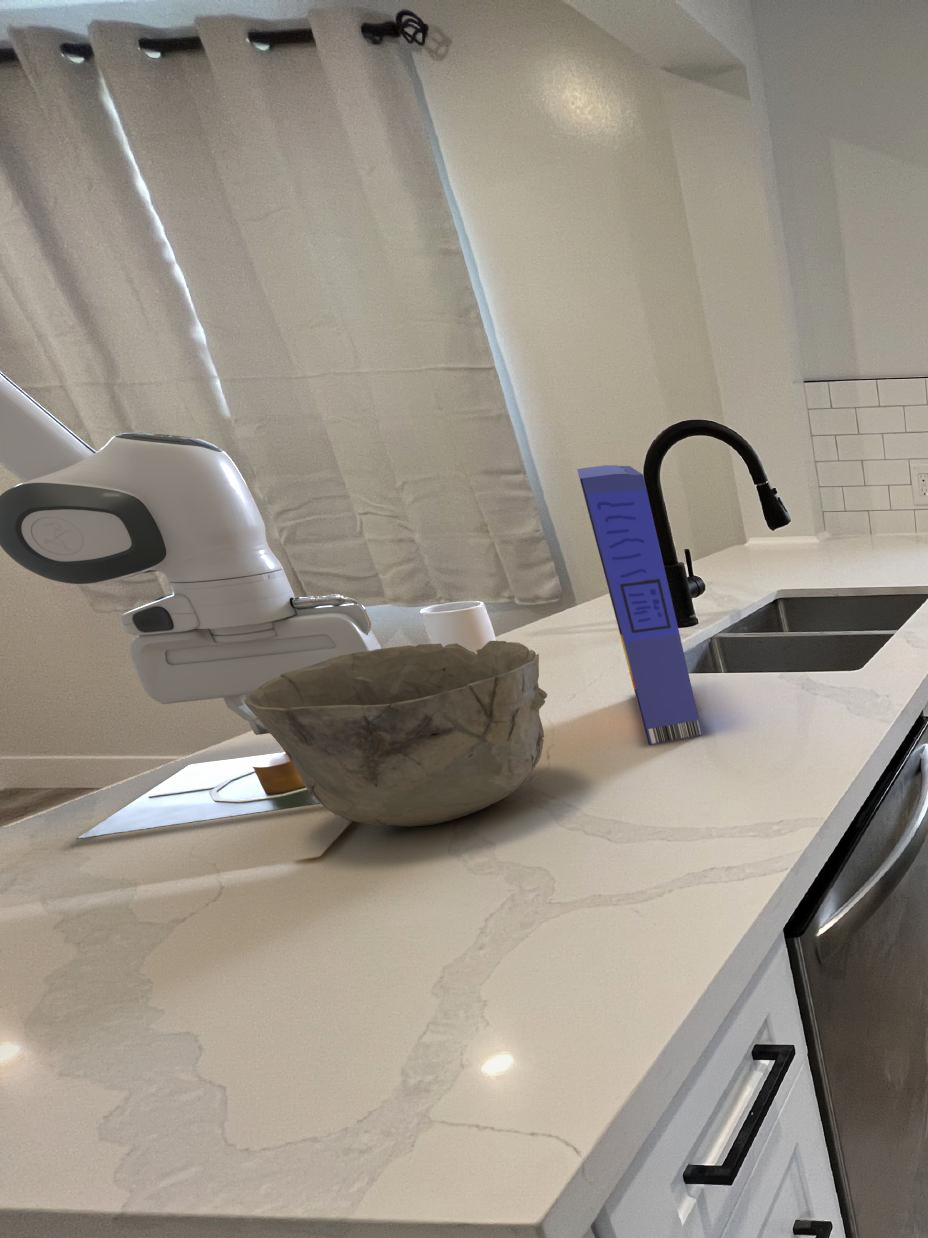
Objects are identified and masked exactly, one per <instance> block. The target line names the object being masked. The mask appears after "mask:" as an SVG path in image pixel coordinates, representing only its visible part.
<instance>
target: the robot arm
mask: <svg viewBox="0 0 928 1238" xmlns="http://www.w3.org/2000/svg"><path fill="white" fill-rule="evenodd" d="M0 465H1V466H3V468H5V469H6V470H7V471H9V472H10V473H11V474H12V475H14V476H15V477H17V478H18V479H19V480H20V481H21V483H19V484H17V485H15V486H13V487H11V488H9V489H7V490H5V491H4V492H3V493H1V494H0V547H1V549H2V550H3V552H5V553H6V554H7V555H8V557H10V558H11V560H13V561H14V562H15V563H17V564H18V565H20V566H21V567H23V568H24V569H26V570H28V571H29V572H32V573H33V574H36V575H38V576H40V577H43V578H45V579H47V580H51V581H55V582H59V583H63V584H70V585H71V584H72V585H103V584H104V585H105V584H108V583H115V582H116V581H119V580H124V579H129V578H133V577H135V576H138V575H140V574H148V573H149V574H150V573H155V572H160V573H162V574H163V575H164V576H165V578H166V581H168V585H169V586H170V588H171V590H172V593H169V594H166V595H164V596H160V597H157V598H156V599H154V601H152V602H150V603H147V604H145V605H142V606H140V607H139V606H138V607H136V608H134V609H132V610H130V611H127V612H125V613H123V614H121V615H120V616H119V622H120V624H121V626H122V627H121V628H123V630H124V631H125V632H126V633H127V634H128V635H132V636H135V637H134V638H132V640H131V641H130V643H129V655H130V658H131V662H132V665H133V667H134V670H135V672H136V675H137V677H138V680H139V682H140V684H141V687H142V688H143V690H144V692H145V693H146V695H147V696H148V697H149V698H151V699H152V700H154V701H156V702H158V703H160V704H162V705H171V704H179V703H180V704H181V703H187V702H188V703H189V702H198V701H205V700H206V701H207V700H213V699H215V700H216V699H222V698H223V701H224V703H225V704H226V707H227V708H228V709H229V710H231V712H233V713H235V714H236V715H238V716H239V717H241V718H242V719H243V720H245V721H248V724H249V727H250V728H251V729H252V732H253V734H254V735H256V736H260V735H261V736H262V735H267V734H269V733H267V729H266V727H265V726H264V725H263V724H262V723H261V721H260V720H259V719H258V718H257V717H256V716H255V714H254V713H253V712H252V711H251V710H250V709H249V708H248V707H247V706H246V704H245V702H244V700H245V698H246V695H247V694H249V693H250V692H252V691H254V690H256V689H258V688H259V687H260V686H261V685H263V684H265V683H266V682H268V681H270V680H273V679H275V678H277V677H280V675H281V674H284V673H286V672H290V671H294V670H297V669H301V668H304V667H308V666H311V665H314V664H317V663H320V662H323V661H327V660H328V659H330V658H334V657H337V656H342V655H347V654H352V653H358V652H364V651H372V650H376V649H382V647H381V645H380V643H379V641H378V639H377V638H376V636H375V634H374V632H373V631H372V622H371V619H370V617H369V614H368V611H367V608H366V607H365V606H364V605H363V604H362V603H361V602H359V601H358V600H356V599H354V598H350V597H346V596H345V595H344V594H328V595H326V596H325V595H324V596H304V597H296V595H295V593H294V591H293V589H292V586H291V584H290V582H289V579H288V576H287V575H286V571H285V569H284V568H283V564H282V563H281V562H280V560H279V559H278V557H276V555H275V554H274V553H273V552H272V549H271V547H270V546H269V543H268V540H267V535H266V534H267V533H266V524H265V522H264V519H263V516H262V514H261V513H260V509H259V508H258V505H257V503H256V501H255V499H254V496H253V495H252V493H251V491H250V488H249V487H248V485H247V483H246V481H245V479H244V478H243V476H242V474H241V472H240V471H239V469H238V467H237V465H236V464H235V462H234V460H232V459H231V457H230V455H228V454H227V453H226V452H225V451H224V450H223V449H221V448H219V447H218V446H217V445H215V444H213V443H211V442H209V441H206V440H204V439H200V438H197V437H195V438H194V437H190V436H189V437H188V436H183V435H182V436H181V435H173V434H172V435H171V434H163V433H146V432H123V433H119V434H115V435H114V436H112V437H111V438H110V440H109V441H108V442H107V443H106V444H105V445H104V446H103V447H101V448H100V449H99V450H98V451H97V450H96V449H94V448H93V447H92V446H90V445H89V444H88V443H86V442H85V441H84V440H83V439H82V438H80V437H79V436H78V435H76V433H75V432H73V431H72V430H71V429H70V428H69V427H67V426H66V425H65V424H64V423H62V422H61V421H60V420H59V419H58V418H56V416H54V415H53V414H52V413H51V412H49V410H47V409H46V408H45V407H43V406H42V405H41V404H40V403H39V402H38V401H36V400H35V399H34V398H33V397H32V396H30V395H29V394H28V393H27V392H26V391H25V390H23V389H22V388H21V387H20V386H18V385H17V384H16V382H14V381H13V380H11V379H10V377H8V376H7V375H6V374H4V372H2V371H1V370H0Z"/></svg>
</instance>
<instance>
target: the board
mask: <svg viewBox="0 0 928 1238" xmlns="http://www.w3.org/2000/svg"><path fill="white" fill-rule="evenodd" d="M280 754H286V753H285V751H284V752H277V753H267V754H260V755H253V756H252V755H251V756H245V757H237V758H230V759H221V760H214V761H206V762H199V763H192V764H188V765H187V766H185V767H184V768H182V769H181V770H179V771H178V772H176V773H175V774H173V775H171V776H170V777H168V778H167V779H165V780H164V781H162V782H161V783H159V784H157V785H155V786H154V787H153V788H152V789H150V790H149V791H147V792H145V793H144V794H142V795H141V796H140V797H137V798H136V799H135V800H133V801H132V802H130V803H129V804H126V805H125V806H124V807H122V808H121V809H119V810H118V811H116V812H115V813H113V814H112V815H110V816H109V817H107V818H106V819H104V820H103V821H101V822H100V823H98V824H96V825H95V826H93V827H92V828H90V829H88V830H87V831H85V832H84V833H83V834H81V835H80V836H78V837H76V840H82V839H89V838H96V837H101V836H102V837H103V836H109V835H115V834H122V833H128V832H129V833H130V832H136V831H144V830H149V829H156V828H164V827H171V826H177V825H184V824H191V823H198V822H204V821H211V820H218V819H226V818H233V817H239V816H246V815H247V816H248V815H253V814H260V813H267V812H274V811H280V810H288V809H294V808H300V807H307V806H314V805H321V804H320V803H319V802H318V801H317V800H316V799H315V798H314V797H313V796H312V794H310V793H309V791H308V790H307V788H306V787H302V788H299V789H296V790H293V791H288V792H283V793H274V794H270V793H265V792H264V790H263V788H262V785H261V783H260V781H259V779H258V777H257V775H256V773H255V771H254V769H253V766H252V765H253V764H254V763H255V762H257V761H259V760H261V759H264V758H267V757H271V756H275V755H280Z"/></svg>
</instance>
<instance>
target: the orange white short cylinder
mask: <svg viewBox="0 0 928 1238" xmlns="http://www.w3.org/2000/svg"><path fill="white" fill-rule="evenodd" d="M252 766H253V769H254V771H255V773H256V775H257V777H258V779H259V781H260V783H261V785H262V788H263V790H264V792H265V793H270V794H274V793H283V792H288V791H293V790H296V789H299V788H302V787H305V785H304V784H303V782H302V779H301V777H300V775H299V774H298V772H297V771H296V769H295V767H294V766H293V764H292V763H291V761H290V758H289V757H288V755H287V754H280V755H275V756H271V757H267V758H264V759H261V760H259V761H257V762H255V763H254V764H253V765H252Z"/></svg>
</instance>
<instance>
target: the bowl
mask: <svg viewBox="0 0 928 1238" xmlns="http://www.w3.org/2000/svg"><path fill="white" fill-rule="evenodd" d="M539 663H540V654H539V653H537V654H536V652H535V650H533V649H529V648H528V647H527V646H526V645H524V644H523V643H520V642H515V641H507V640H496V641H489V642H488V643H487V644H486V645H485V646H484V647H483V648H482V649H479V650H477V654H475V653H474V652H471V651H469V650H467V649H466V648H464V647H462V646H461V645H459V644H457V643H455V644H448V645H446V646H445V647H443V646H442V645H441V644H431V643H424V644H421V643H420V644H417V645H410V644H409V645H402V646H401V645H399V646H392V647H384V648H383V647H382V648H381V649H376V650H372V651H364V652H358V653H352V654H347V655H342V656H337V657H334V658H330V659H328V660H327V661H323V662H320V663H317V664H314V665H311V666H308V667H304V668H301V669H297V670H294V671H290V672H286V673H284V674H281V675H280V677H277V678H275V679H273V680H270V681H268V682H266V683H265V684H263V685H261V686H260V687H259V688H258V689H256V690H254V691H252V692H250V693H249V694H247V695H246V698H245V700H244V702H245V704H246V706H247V707H248V708H249V709H250V710H251V711H252V712H253V713H254V714H255V716H256V717H257V718H258V719H259V720H260V721H261V723H262V724H263V725H264V726H265V727H266V729H267V733H268V734H270V735H271V737H272V738H273V739H274V740H275V741H276V742H277V743H278V745H279V746H280V747H281V748H282V750H283V751H284V752H285V753H286V754H287V755H288V757H289V758H290V761H291V763H292V764H293V766H294V767H295V769H296V771H297V772H298V774H299V775H300V777H301V779H302V782H303V784H304V785H305V787H306V788H307V790H308V791H309V793H310V794H312V796H313V797H314V798H315V799H316V800H317V801H318V802H319V803H320V804H319V805H321V806H322V807H324V809H326V810H328V811H329V812H331V813H332V814H334V815H335V816H337V817H340V818H341V819H344V820H347V821H350V822H355V823H359V824H368V825H380V826H387V825H388V826H389V825H390V826H396V827H412V828H413V827H425V826H433V825H438V824H443V823H447V822H448V823H449V822H451V821H455V820H457V819H460V818H464V817H466V816H469V815H472V814H474V813H476V812H479V811H481V810H485V809H486V808H488V807H490V806H491V805H493V804H497V802H500V801H501V800H503V799H505V798H507V797H508V796H509V795H511V794H512V793H513V792H515V791H516V790H517V789H518V788H520V787H521V785H523V783H524V782H525V781H526V780H527V779H528V777H529V776H531V774H532V772H533V770H534V769H535V768H536V766H537V765H538V763H539V762H540V759H541V757H542V754H543V748H544V738H545V731H544V728H543V723H542V720H541V716H540V709H542V707H543V706H544V705H545V704H546V700H545V699H546V698H547V697H548V693H547V692H546V691H545V690H543V689H542V688H540V687H539V677H540V666H539V665H540V664H539Z"/></svg>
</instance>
